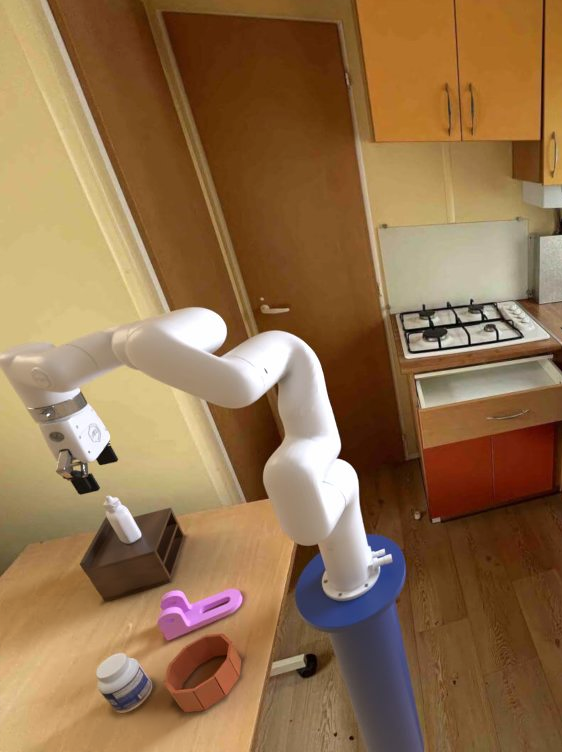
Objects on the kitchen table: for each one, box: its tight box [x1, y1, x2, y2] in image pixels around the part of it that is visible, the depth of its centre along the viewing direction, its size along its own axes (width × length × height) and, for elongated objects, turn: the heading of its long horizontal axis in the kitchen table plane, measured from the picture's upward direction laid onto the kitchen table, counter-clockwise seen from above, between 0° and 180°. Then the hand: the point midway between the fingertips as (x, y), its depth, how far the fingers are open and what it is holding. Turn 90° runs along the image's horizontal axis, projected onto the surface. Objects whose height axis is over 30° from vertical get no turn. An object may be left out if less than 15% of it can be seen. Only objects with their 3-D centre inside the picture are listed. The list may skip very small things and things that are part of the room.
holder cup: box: [163, 632, 242, 713], centre depth 76 cm, size 10×10×6 cm
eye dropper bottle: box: [103, 494, 141, 544], centre depth 92 cm, size 4×6×12 cm
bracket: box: [156, 588, 243, 642], centre depth 88 cm, size 13×6×7 cm, turn 121°
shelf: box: [79, 507, 186, 602], centre depth 97 cm, size 12×14×12 cm
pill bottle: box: [95, 652, 153, 714], centre depth 73 cm, size 5×5×10 cm
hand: (100, 476), depth 87 cm, fingers open, 9 cm apart
